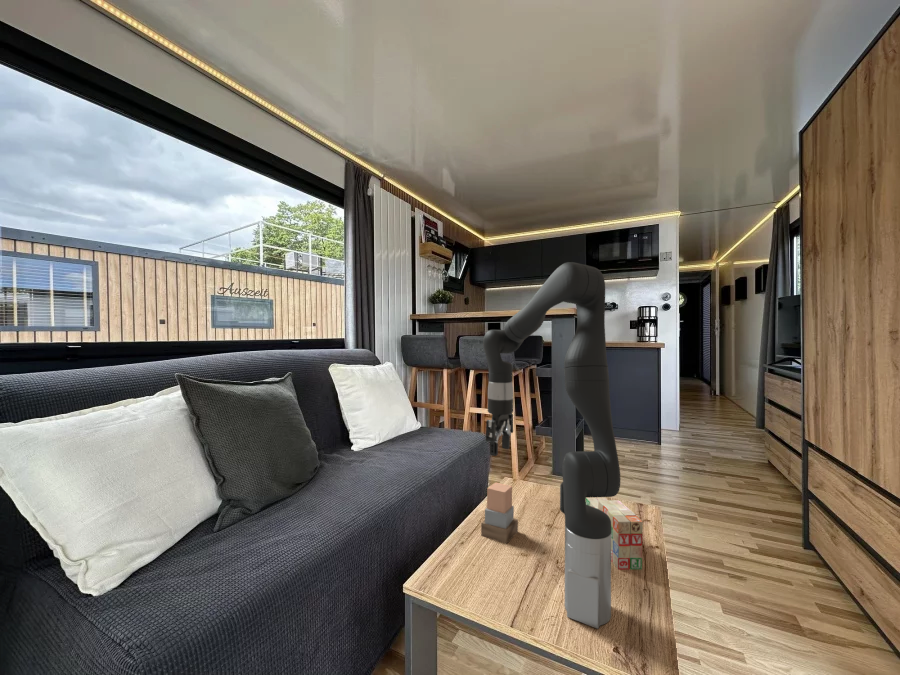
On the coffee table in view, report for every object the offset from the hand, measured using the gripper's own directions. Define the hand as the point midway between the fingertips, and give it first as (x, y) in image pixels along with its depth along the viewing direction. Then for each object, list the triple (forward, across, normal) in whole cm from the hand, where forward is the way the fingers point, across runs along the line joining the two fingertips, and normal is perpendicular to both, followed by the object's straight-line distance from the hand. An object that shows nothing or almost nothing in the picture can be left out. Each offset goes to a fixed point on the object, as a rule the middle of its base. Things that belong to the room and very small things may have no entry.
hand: (500, 451), depth 111 cm
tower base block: (+24, 0, 0) cm, 24 cm away
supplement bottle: (+24, +26, -14) cm, 38 cm away
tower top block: (+20, 0, 0) cm, 20 cm away
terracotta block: (+16, 0, 0) cm, 16 cm away
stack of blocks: (+24, +10, -29) cm, 39 cm away
